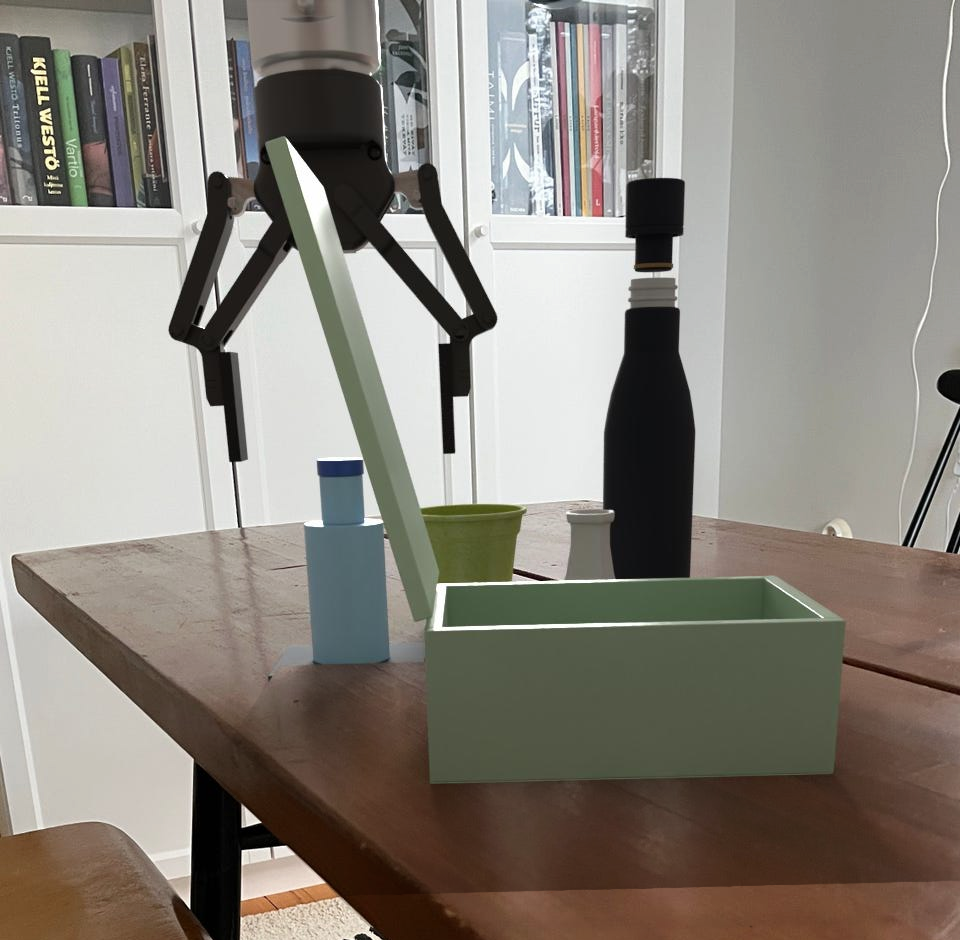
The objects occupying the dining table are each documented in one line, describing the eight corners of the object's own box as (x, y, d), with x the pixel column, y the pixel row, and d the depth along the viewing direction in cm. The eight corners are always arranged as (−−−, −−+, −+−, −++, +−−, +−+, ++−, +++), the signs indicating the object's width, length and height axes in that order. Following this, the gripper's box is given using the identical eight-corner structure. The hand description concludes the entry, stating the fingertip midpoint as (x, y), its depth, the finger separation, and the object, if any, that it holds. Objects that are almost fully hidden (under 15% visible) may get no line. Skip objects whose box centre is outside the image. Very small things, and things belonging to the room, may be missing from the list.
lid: (323, 185, 61) (306, 191, 62) (284, 135, 49) (264, 142, 49) (439, 572, 68) (424, 577, 68) (432, 617, 55) (414, 622, 55)
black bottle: (583, 635, 94) (586, 184, 83) (640, 624, 98) (650, 191, 87) (648, 647, 89) (660, 171, 79) (705, 634, 93) (725, 179, 83)
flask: (554, 652, 89) (554, 505, 85) (655, 657, 86) (659, 506, 83) (519, 674, 82) (518, 516, 79) (627, 680, 80) (630, 518, 76)
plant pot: (409, 633, 97) (405, 516, 94) (412, 611, 105) (407, 504, 102) (531, 629, 97) (530, 513, 94) (523, 608, 106) (522, 501, 103)
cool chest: (767, 715, 71) (775, 575, 68) (832, 789, 58) (846, 620, 55) (437, 723, 71) (432, 583, 68) (430, 799, 58) (423, 630, 56)
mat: (427, 648, 91) (427, 642, 91) (423, 679, 81) (422, 672, 81) (289, 652, 91) (288, 645, 91) (268, 683, 81) (267, 676, 81)
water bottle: (391, 649, 88) (382, 455, 84) (387, 665, 84) (377, 460, 79) (317, 651, 88) (304, 457, 84) (309, 667, 84) (294, 462, 79)
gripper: (86, 71, 70) (136, 467, 78) (533, 53, 70) (540, 452, 78) (121, 100, 77) (164, 460, 85) (527, 83, 77) (534, 446, 85)
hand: (344, 457), depth 81 cm, fingers open, 13 cm apart
